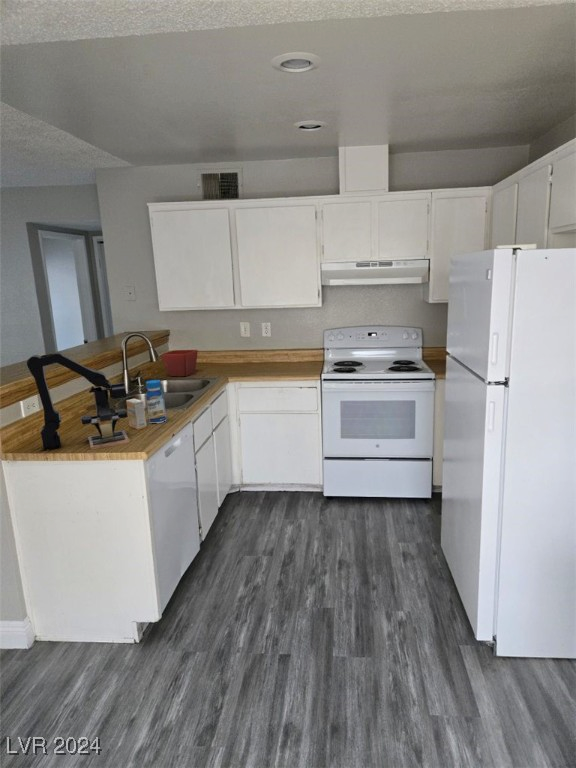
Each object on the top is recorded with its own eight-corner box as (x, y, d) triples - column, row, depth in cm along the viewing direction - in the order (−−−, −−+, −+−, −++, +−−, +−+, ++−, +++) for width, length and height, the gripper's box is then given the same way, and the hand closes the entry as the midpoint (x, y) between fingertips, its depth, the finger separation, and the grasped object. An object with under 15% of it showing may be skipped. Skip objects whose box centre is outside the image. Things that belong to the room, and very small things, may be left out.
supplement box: (129, 427, 237) (125, 400, 235) (138, 424, 241) (134, 398, 238) (137, 430, 232) (134, 402, 229) (147, 427, 235) (143, 400, 232)
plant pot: (177, 372, 371) (174, 349, 368) (200, 372, 365) (198, 349, 362) (163, 378, 354) (160, 354, 350) (187, 378, 348) (184, 354, 344)
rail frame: (91, 449, 208) (90, 447, 208) (88, 439, 223) (88, 436, 222) (129, 442, 214) (129, 439, 214) (124, 432, 229) (124, 430, 228)
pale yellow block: (102, 440, 219) (100, 427, 218) (102, 438, 223) (100, 425, 222) (113, 439, 221) (111, 425, 219) (112, 436, 225) (110, 423, 223)
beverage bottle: (170, 419, 246) (165, 379, 242) (161, 424, 238) (156, 383, 234) (154, 418, 249) (149, 379, 244) (145, 423, 241) (140, 383, 237)
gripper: (80, 408, 207) (85, 444, 211) (126, 401, 215) (131, 436, 218) (78, 402, 217) (84, 437, 220) (123, 396, 225) (128, 429, 228)
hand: (107, 435), depth 221 cm, fingers closed on pale yellow block, 4 cm apart
